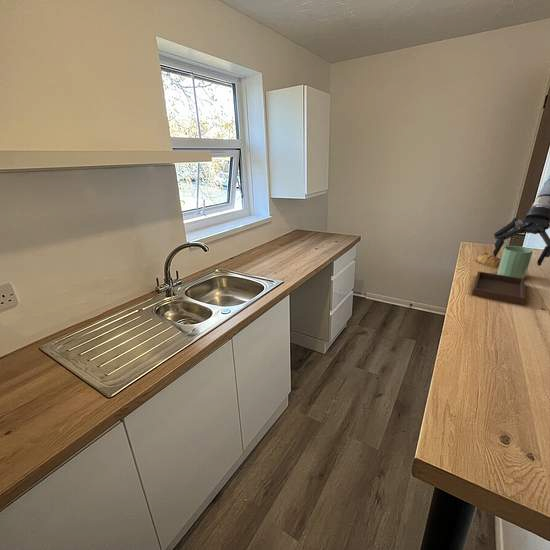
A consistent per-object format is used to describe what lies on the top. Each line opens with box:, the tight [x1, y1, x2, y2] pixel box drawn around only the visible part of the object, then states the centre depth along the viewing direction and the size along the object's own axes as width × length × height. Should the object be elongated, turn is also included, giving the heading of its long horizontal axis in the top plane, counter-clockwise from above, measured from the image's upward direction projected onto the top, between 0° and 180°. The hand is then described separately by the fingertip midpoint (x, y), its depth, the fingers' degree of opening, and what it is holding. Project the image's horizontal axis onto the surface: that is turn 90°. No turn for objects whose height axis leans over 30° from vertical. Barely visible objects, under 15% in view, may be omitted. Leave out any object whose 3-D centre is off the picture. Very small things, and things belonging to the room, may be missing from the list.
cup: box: [496, 245, 534, 280], centre depth 110 cm, size 8×8×11 cm
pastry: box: [476, 252, 501, 268], centre depth 124 cm, size 9×7×4 cm
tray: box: [471, 271, 527, 306], centre depth 102 cm, size 18×14×3 cm
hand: (515, 258), depth 110 cm, fingers open, 13 cm apart
